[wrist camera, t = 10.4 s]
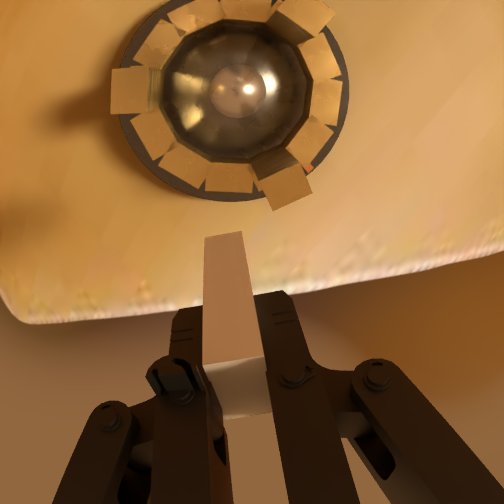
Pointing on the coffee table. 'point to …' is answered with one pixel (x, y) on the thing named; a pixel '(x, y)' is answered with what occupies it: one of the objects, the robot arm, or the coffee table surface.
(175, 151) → the round dome base
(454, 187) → the coffee table surface
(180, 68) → the cap plate
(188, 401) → the robot arm
